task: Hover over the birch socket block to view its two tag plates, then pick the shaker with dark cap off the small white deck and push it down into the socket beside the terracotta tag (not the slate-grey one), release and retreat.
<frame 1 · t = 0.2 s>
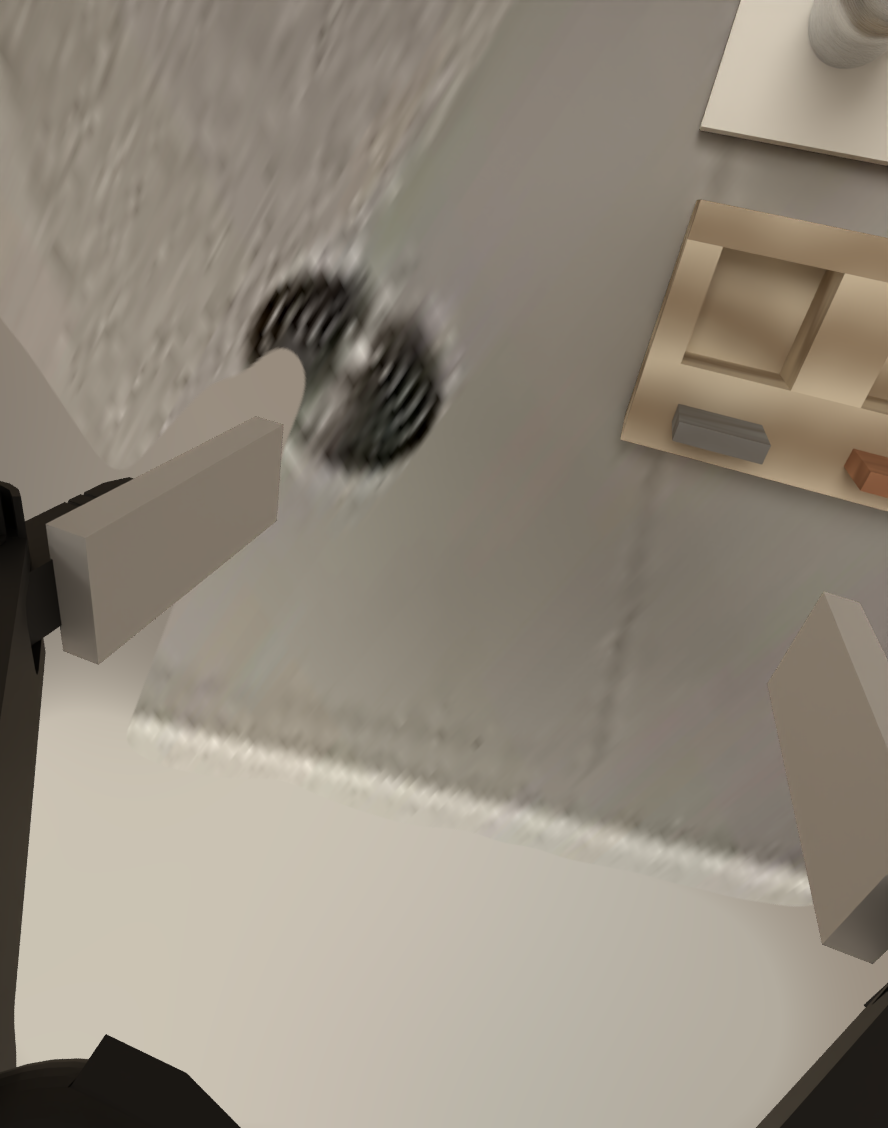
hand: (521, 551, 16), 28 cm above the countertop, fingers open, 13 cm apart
deck: (849, 22, 30), on the countertop
socket block: (818, 354, 37), on the countertop
shaker with dark cap: (859, 11, 29), point 2 cm above the countertop, touching deck
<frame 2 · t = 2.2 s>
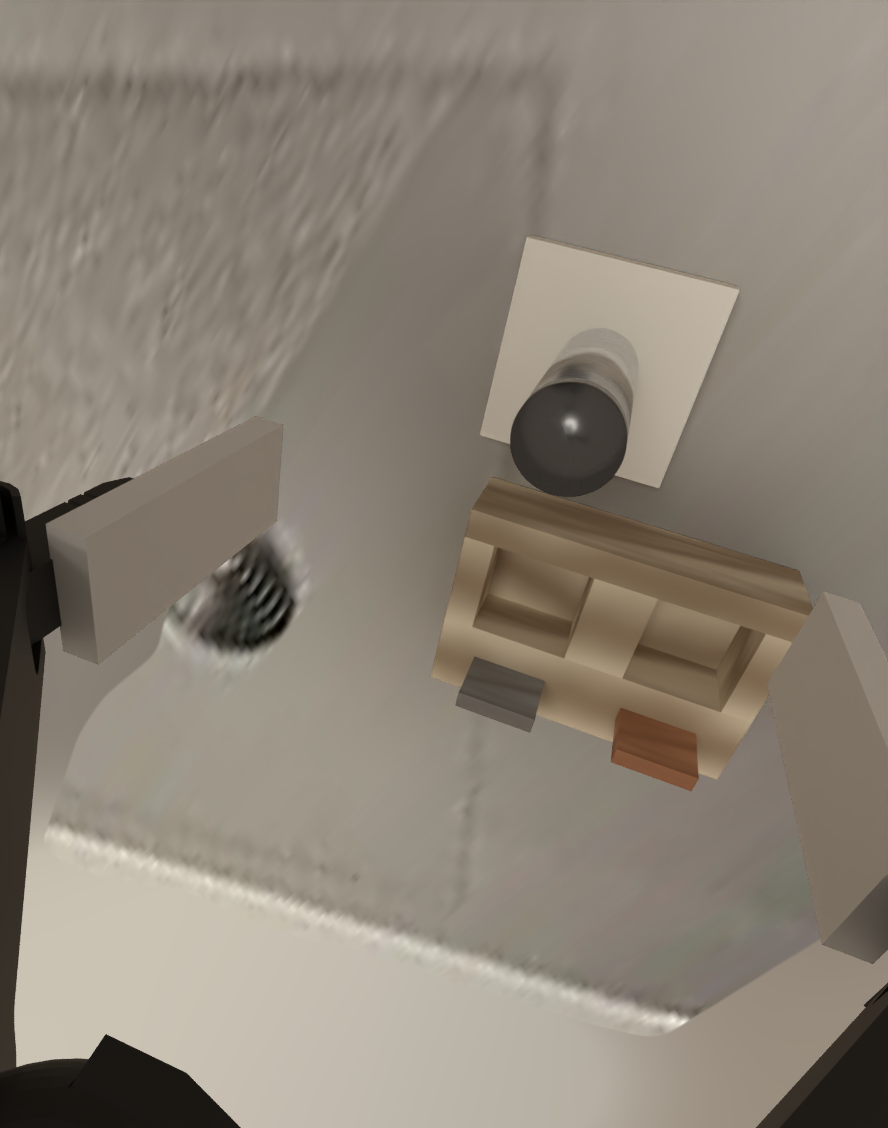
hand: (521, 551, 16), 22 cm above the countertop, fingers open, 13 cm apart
deck: (600, 361, 35), on the countertop
socket block: (606, 605, 41), on the countertop
shaker with dark cap: (596, 369, 33), point 2 cm above the countertop, touching deck
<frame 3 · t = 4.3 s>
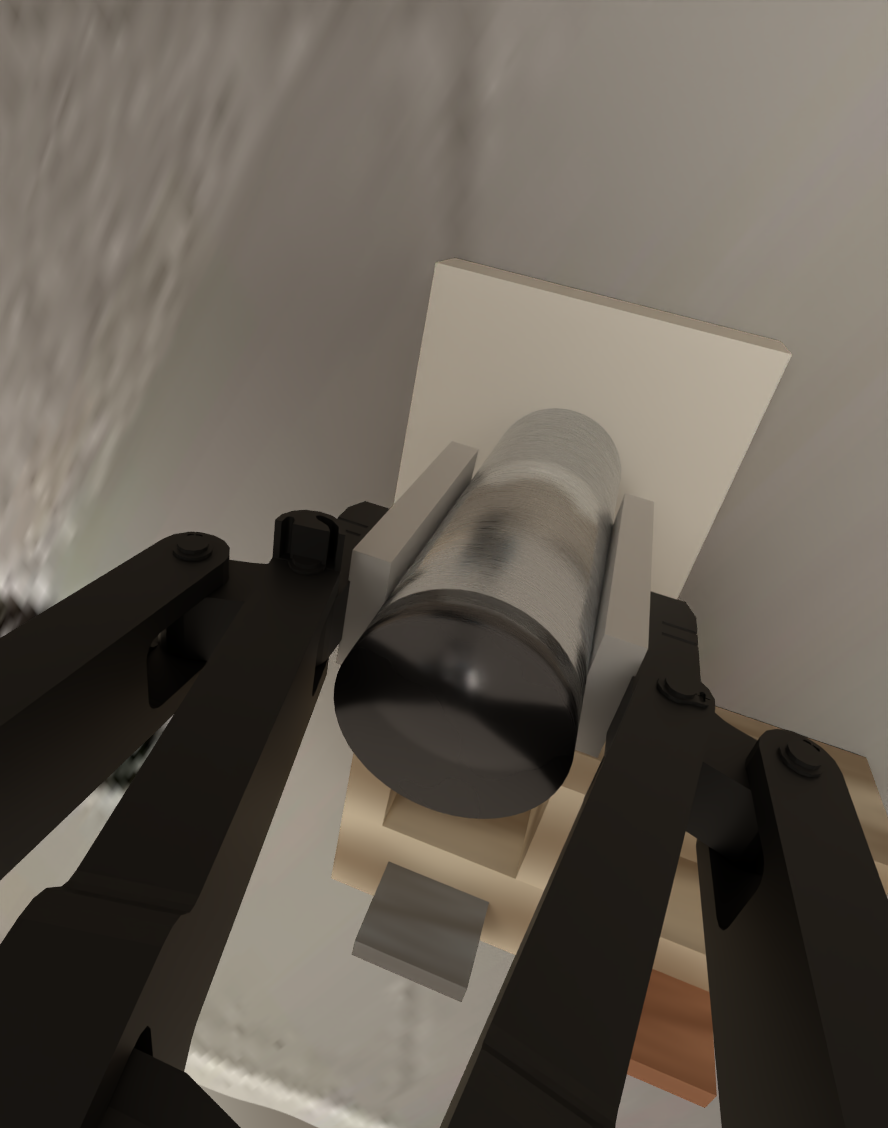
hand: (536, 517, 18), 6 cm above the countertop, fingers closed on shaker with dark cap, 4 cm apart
deck: (563, 451, 22), on the countertop
socket block: (581, 778, 29), on the countertop
shaker with dark cap: (555, 471, 21), point 2 cm above the countertop, touching deck, gripper
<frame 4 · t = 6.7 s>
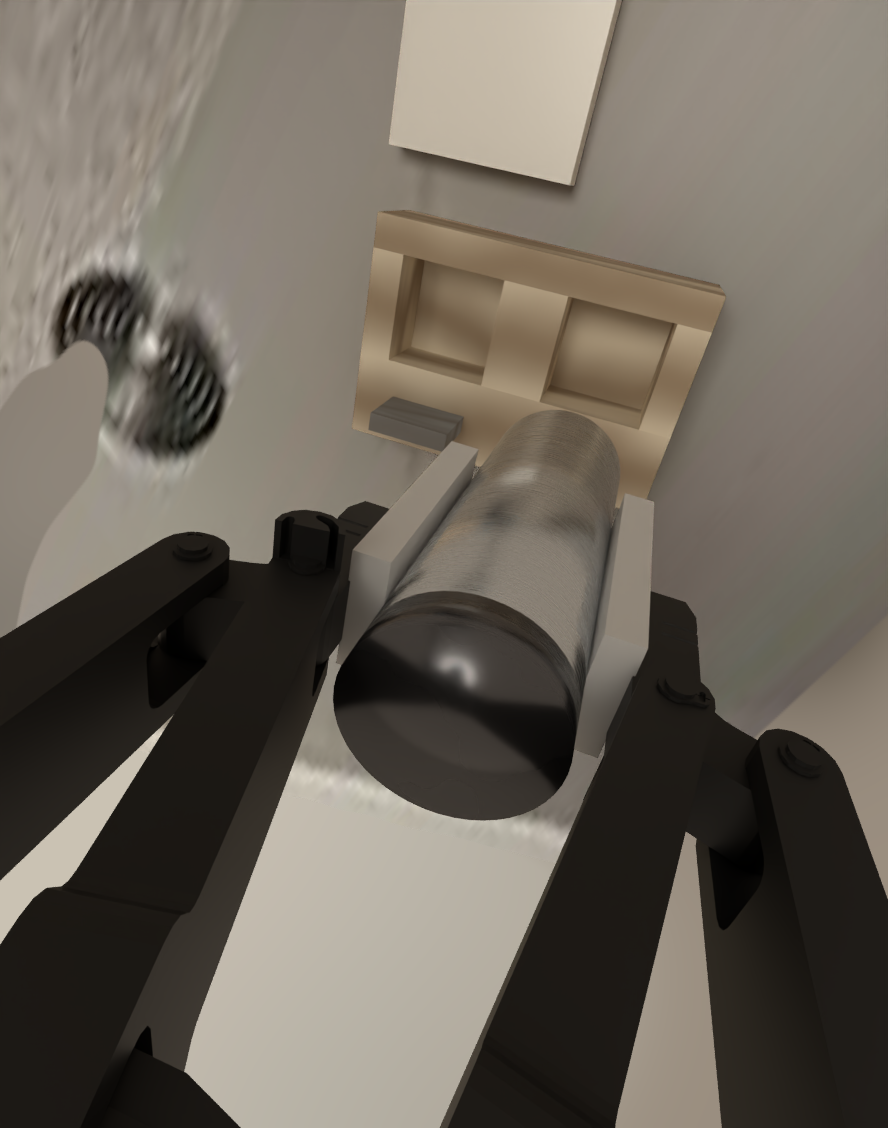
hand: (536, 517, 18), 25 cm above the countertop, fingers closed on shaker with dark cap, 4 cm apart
deck: (507, 53, 34), on the countertop
socket block: (531, 352, 40), on the countertop
shaker with dark cap: (554, 472, 21), point 22 cm above the countertop, touching gripper
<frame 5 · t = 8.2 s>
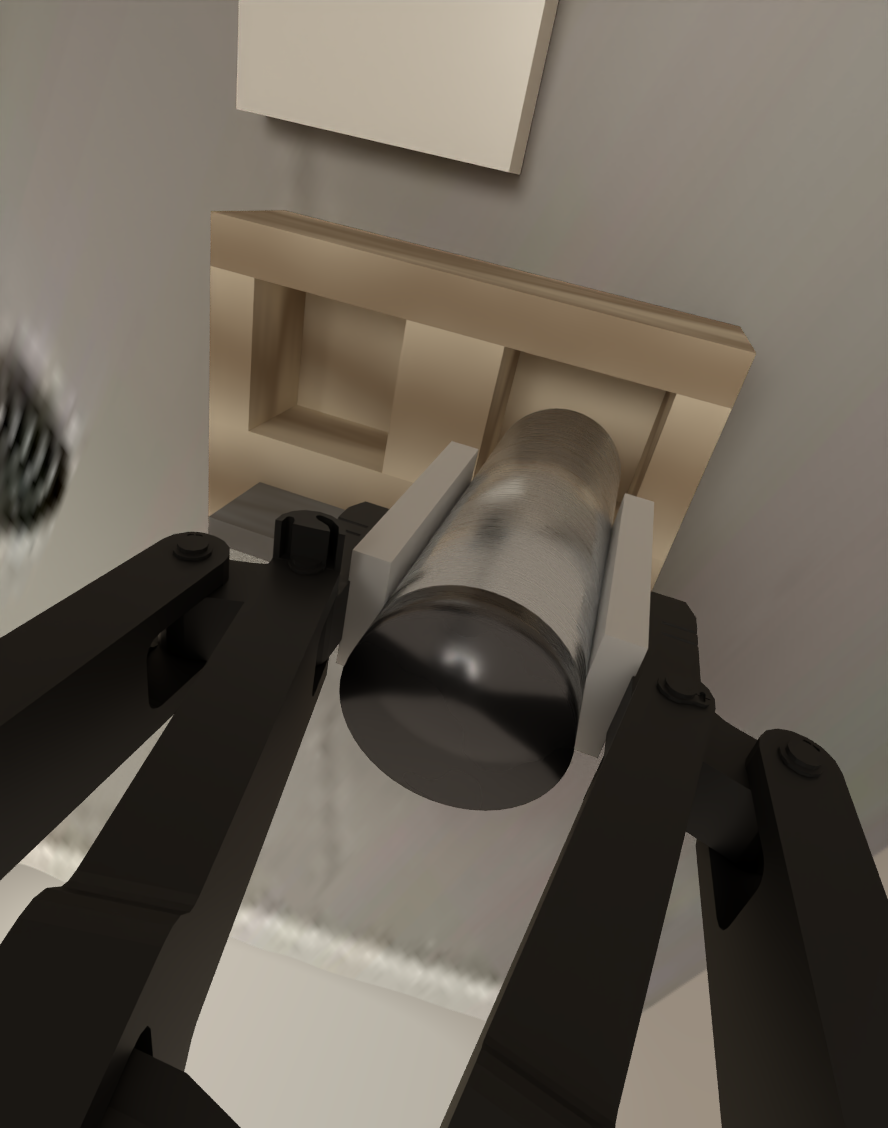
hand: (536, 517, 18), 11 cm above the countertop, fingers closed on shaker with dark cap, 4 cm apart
socket block: (466, 416, 28), on the countertop
shaker with dark cap: (555, 470, 21), point 7 cm above the countertop, touching gripper
when the fingers open (7 cm above the countertop, at t = 9.2 s): shaker with dark cap drops 2 cm, resting on socket block.
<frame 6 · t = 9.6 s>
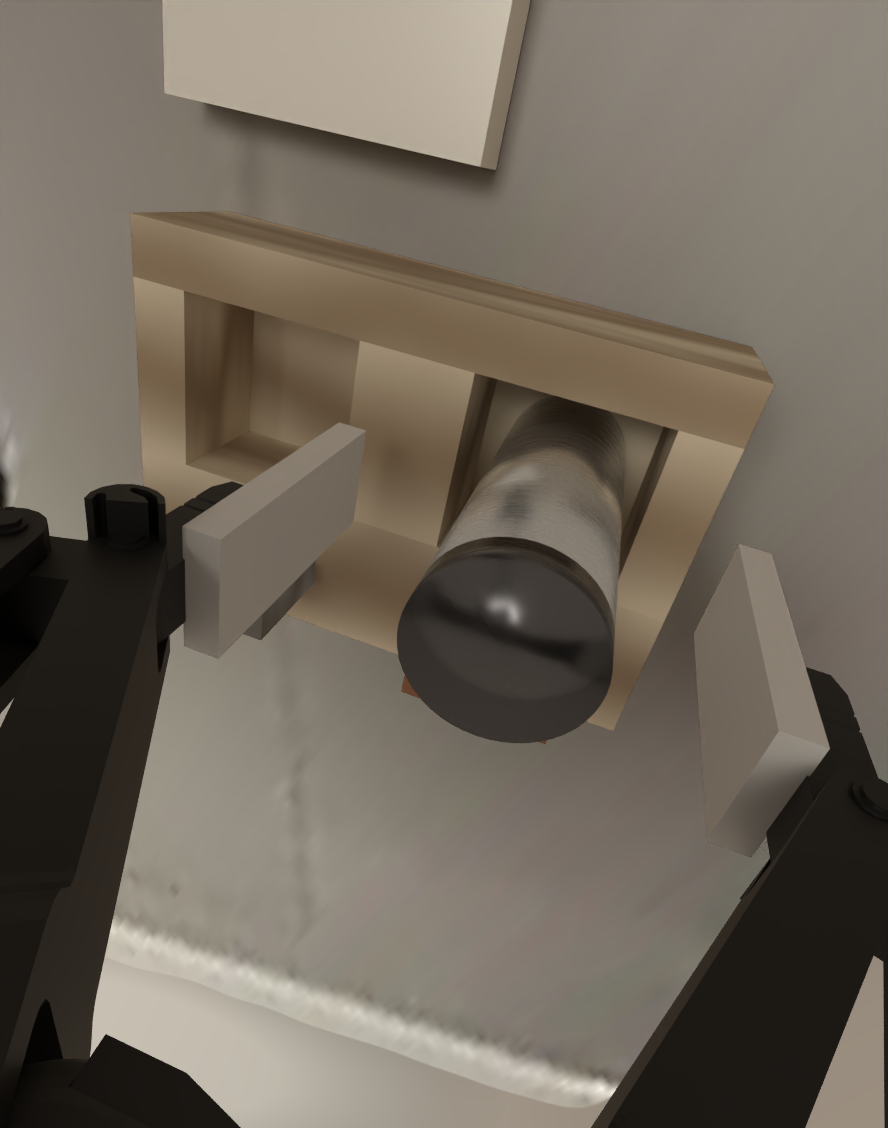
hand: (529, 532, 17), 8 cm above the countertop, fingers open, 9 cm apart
socket block: (439, 445, 25), on the countertop
shaker with dark cap: (564, 453, 22), point 1 cm above the countertop, touching socket block
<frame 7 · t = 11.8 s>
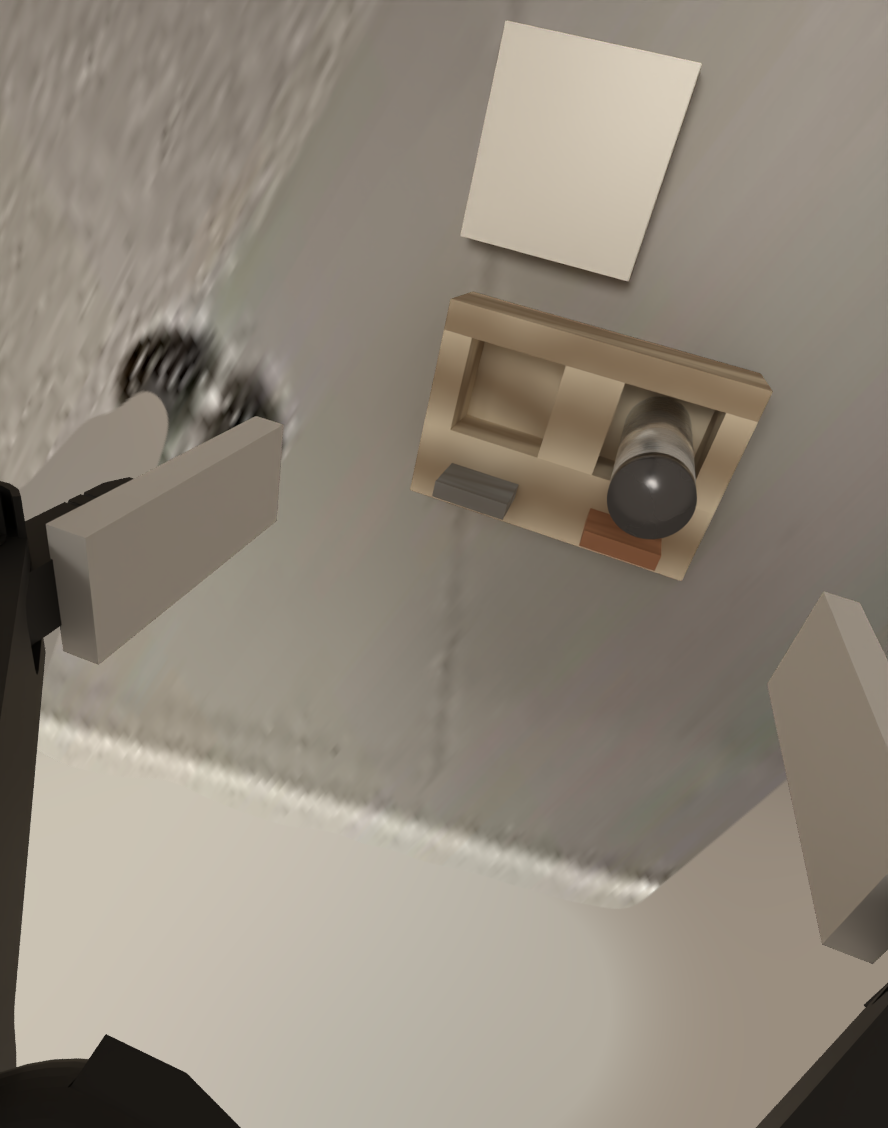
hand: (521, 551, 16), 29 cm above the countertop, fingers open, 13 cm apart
deck: (574, 160, 37), on the countertop
socket block: (580, 424, 43), on the countertop
shaker with dark cap: (657, 428, 41), point 1 cm above the countertop, touching socket block
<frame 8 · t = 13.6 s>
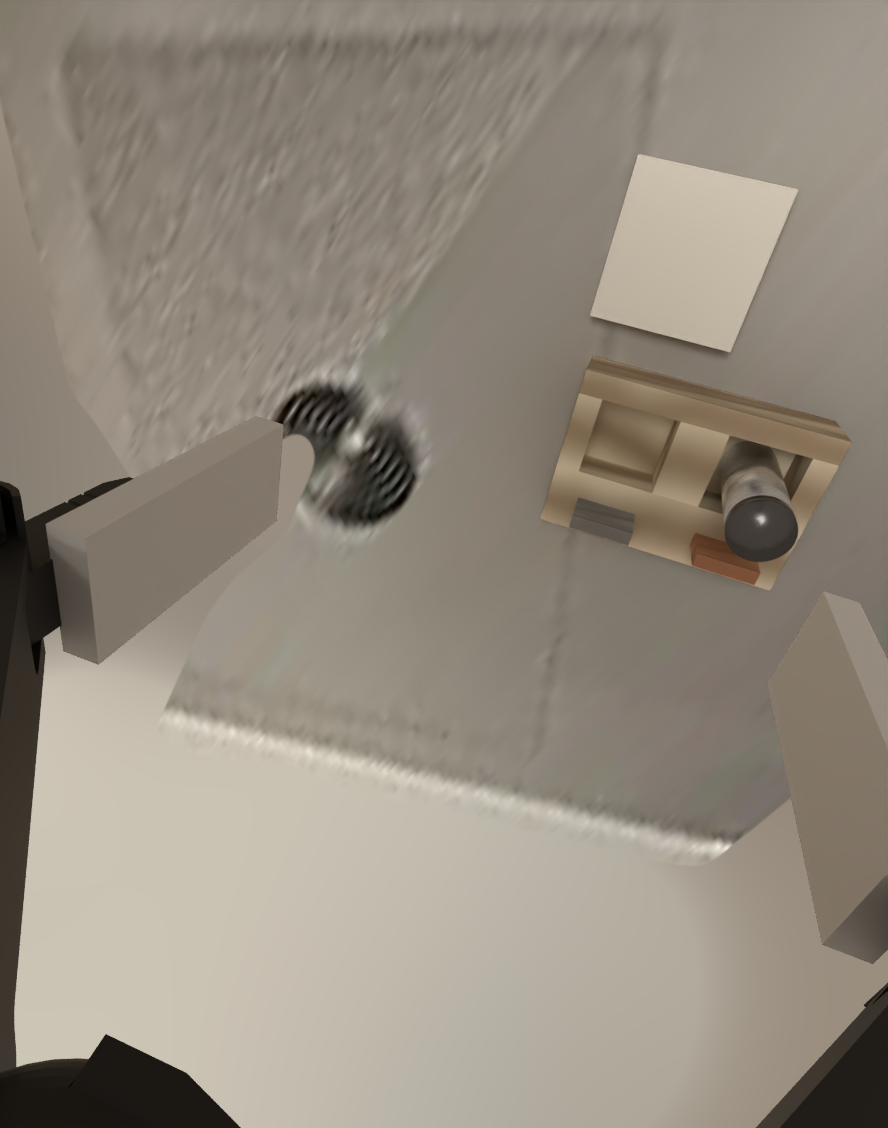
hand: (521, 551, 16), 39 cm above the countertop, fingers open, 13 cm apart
deck: (685, 255, 45), on the countertop
socket block: (680, 461, 52), on the countertop
shaker with dark cap: (747, 466, 50), point 1 cm above the countertop, touching socket block
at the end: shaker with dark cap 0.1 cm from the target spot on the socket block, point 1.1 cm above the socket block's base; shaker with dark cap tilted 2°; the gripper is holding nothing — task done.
